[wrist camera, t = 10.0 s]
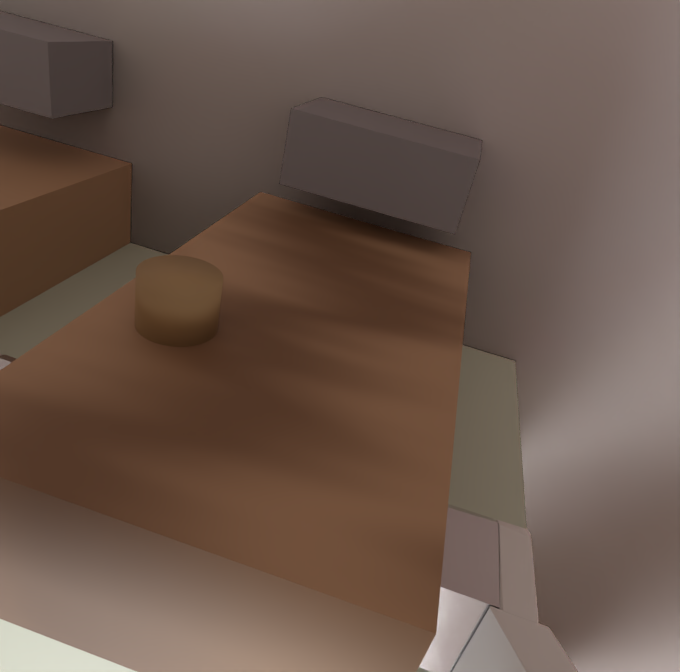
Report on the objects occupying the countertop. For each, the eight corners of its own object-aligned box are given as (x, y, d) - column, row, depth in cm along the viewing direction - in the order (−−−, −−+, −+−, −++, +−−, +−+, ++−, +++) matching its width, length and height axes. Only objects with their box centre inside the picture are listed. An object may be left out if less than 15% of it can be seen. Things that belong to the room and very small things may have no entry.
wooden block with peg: (482, 219, 16) (466, 575, 5) (440, 338, 18) (370, 762, 7) (265, 158, 16) (-121, 371, 6) (248, 280, 18) (-62, 595, 8)
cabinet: (600, 171, 16) (788, 412, 6) (460, 482, 23) (433, 855, 12) (-121, -22, 19) (-884, -93, 8) (-61, 308, 25) (-448, 499, 15)
